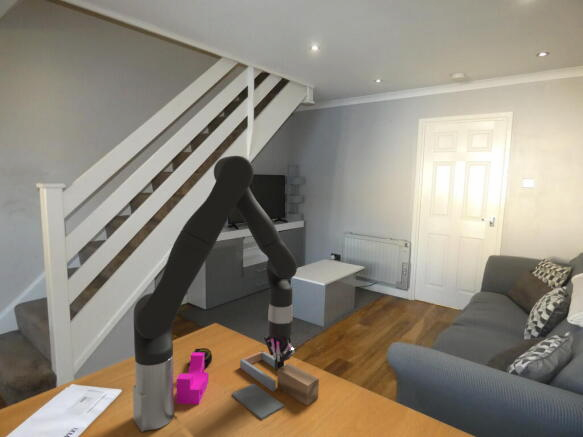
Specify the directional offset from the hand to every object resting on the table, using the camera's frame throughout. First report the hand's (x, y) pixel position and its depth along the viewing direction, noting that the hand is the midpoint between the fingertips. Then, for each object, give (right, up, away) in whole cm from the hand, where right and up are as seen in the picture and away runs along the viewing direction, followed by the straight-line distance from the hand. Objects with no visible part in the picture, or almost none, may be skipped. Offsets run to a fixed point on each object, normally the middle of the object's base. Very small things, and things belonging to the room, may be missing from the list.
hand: (279, 370), depth 108 cm
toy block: (-25, -4, -4) cm, 26 cm away
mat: (-6, -4, -10) cm, 12 cm away
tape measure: (-29, -1, +11) cm, 31 cm away
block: (+6, -4, -5) cm, 9 cm away
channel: (-4, -3, +4) cm, 7 cm away
